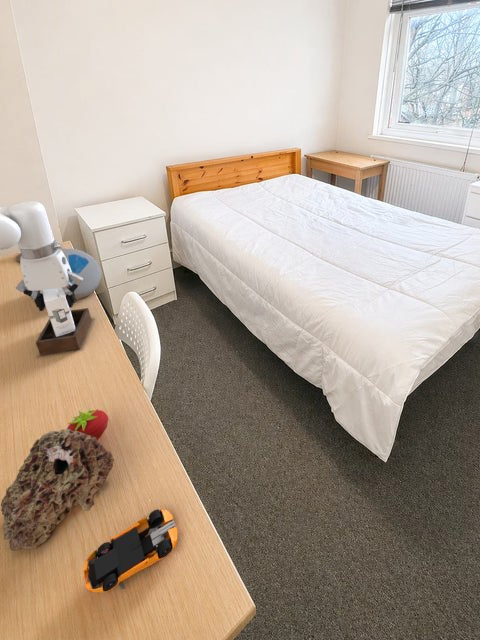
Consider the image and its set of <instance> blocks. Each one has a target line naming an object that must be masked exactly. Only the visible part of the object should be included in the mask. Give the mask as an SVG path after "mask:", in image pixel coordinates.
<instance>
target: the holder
mask: <svg viewBox="0 0 480 640" xmlns="http://www.w3.org/2000/svg"><path fill="white" fill-rule="evenodd" d="M70 311H71V314H72V318H73V321H74V325H75V329H76V330H75V331H73V332H70V333H67V334H64V335H61V336H58V337H56V335H55V332H54V329H53V326H52V323H51V320H50V318H49V317H48V320H47V322H46V323H45V326H44V327H43V328H42V331H41V332H40V334H39V336H38V338H37V339H36V341H35V346H36V347H37V350H38V353H39V356H41V357H43V356H47V355H48V356H49V355H53V354H54V355H55V354H60V353H61V354H62V353H66V352H67V353H68V352H74V351H79V350H81V347H82V345H83V343H84V340H85V338H86V335H87V332H88V330H89V327H90V325H91V322H92V317H91V313H90V310H89V307H86V308H78V309H70Z"/></svg>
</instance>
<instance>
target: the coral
mask: <svg viewBox="0 0 480 640" xmlns="http://www.w3.org/2000/svg"><path fill="white" fill-rule="evenodd" d="M114 461H115V459H114V457H113V453H112V452H111V451H110V450H108V449H106V447H105V446H103V444H102V443H101V442H98V441H97V439H96V437H93V436H90V435H86V434H84V433H81V432H78V431H75V432H74V431H72V430H70V429H67V428H65V429H61V430H50V431H49V432H46V433H44V434H42V435H41V437H40V438H38V439H36V440H35V442H34V443H33V445H32V447H30V449H29V453H28V455H27V457H26V458H25V459H24V460H23V464H22V465H21V466H20V467H19V469H18V473H17V475H16V478H15V480H14V481H13V482H12V483H11V484H10V485H9V487H7V488H5V495H4V496H3V498H2V499H1V502H0V507H1V508H0V512H1V515H3V520H4V523H3V527H2V529H3V540H5V541H7V540H8V548H9V549H10V550H11V551H19V550H21V549H25V550H27V549H29V550H30V549H38V548H39V547H40V546H41V545H42V544H43V543H45V542H46V541H47V539H48V538H50V537H52V531H54V530H55V529H56V527H57V525H59V524H60V523H61V521H63V520H64V519H66V518H67V517H68V514H69V513H71V511H72V510H74V509H75V508H76V507H77V506H78V505H80V506H81V508H82V509H83V511H84V512H89V511H90V510H91V508H92V507H93V506H94V505H95V500H94V497H95V494H96V493H98V491H99V490H100V489H101V488H102V487H103V486H104V483H105V481H106V480H107V478H108V476H109V475H110V472H111V470H112V469H113V467H114V466H113V465H114Z"/></svg>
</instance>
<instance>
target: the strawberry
mask: <svg viewBox="0 0 480 640" xmlns="http://www.w3.org/2000/svg"><path fill="white" fill-rule="evenodd" d="M78 413H79V414H78V416H73V417H72V418H73V420H71V421H70V422H68V423H67V425H68V426H67V428H66V429H70V430H72V431H74V432H75V431H78V432H81V433H84V434H86V435H90V436H93V437H96V439H97V442H98V441H99V440H100V439H101V438H102V436H103V434H104V433H105V432H106V430H107V428H108V423H109V415H108V414H107V413H106V412H105V411H103V410H101V409H98V408H97V409H95V410H94V409H93V410H90V408H88V409H87V410H86V411H85V412H82V411H81V410H78Z"/></svg>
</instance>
